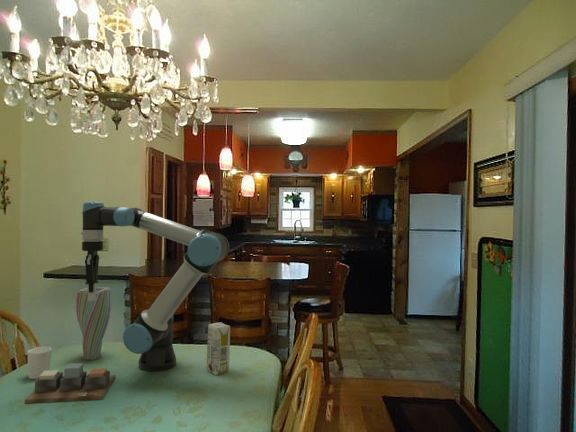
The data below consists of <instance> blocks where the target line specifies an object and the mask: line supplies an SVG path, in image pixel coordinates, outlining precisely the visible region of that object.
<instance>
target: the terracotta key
mask: <svg viewBox="0 0 576 432" xmlns="http://www.w3.org/2000/svg"><path fill="white" fill-rule="evenodd" d="M107 369H108V368H107V367H105V368H92V369H91V370H90V371H89V373H88V374H89V378H93V377H104V376H105V375H106V373H107V371H108V370H107Z"/></svg>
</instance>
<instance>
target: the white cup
mask: <svg viewBox="0 0 576 432" xmlns="http://www.w3.org/2000/svg"><path fill="white" fill-rule="evenodd" d="M51 358H52V347H50V346H39V347H38V346H37V347H33V348H31V349H28V350H27V371H28V378H29V379H30V380H36V379H37V378H38V377H39V376H40V375H41V374H42V373H43V372H44V371H50V367H51V362H52V361H51V360H52V359H51Z"/></svg>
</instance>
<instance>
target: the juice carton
mask: <svg viewBox="0 0 576 432" xmlns="http://www.w3.org/2000/svg"><path fill="white" fill-rule="evenodd" d="M230 347H231V325H228V324H225V323H223V322H213V323H208V327H207V348H206V349H207V351H206V352H207V353H206V370H207V371H208V372H210V373H212V375H215V376H218V375H222V374H223V375H224V374H226V373H229V372H230V369H229V368H230V352H231V351H230Z"/></svg>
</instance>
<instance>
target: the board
mask: <svg viewBox="0 0 576 432" xmlns="http://www.w3.org/2000/svg"><path fill="white" fill-rule="evenodd" d="M110 372H111V370H107V373H106V375H105V376H104V377H93V378H89V373H88V374H87V371H83V374H82V376H81V377H80V378H69V379H64V371H63V372H59V375H58V376H57V377H56V378H55V379H45V380H39V377H38V378H37V379H34V390H33V391H32V392H31V393H30V394H29V395H28V396H27V397H26V398H25V399H24V404H37V403H38V404H39V403H40V404H41V403H57V402H58V403H59V402H60V403H61V402H78V401H79V402H80V401H82V402H83V401H97V400H98V401H99V400H103V399H104V398H105V396H106V395H107V392H108V391H109V389H110V388H111V386H112V384H113V382H114V381H115V379H116V375H114V374H113V375H110V374H111V373H110Z"/></svg>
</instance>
